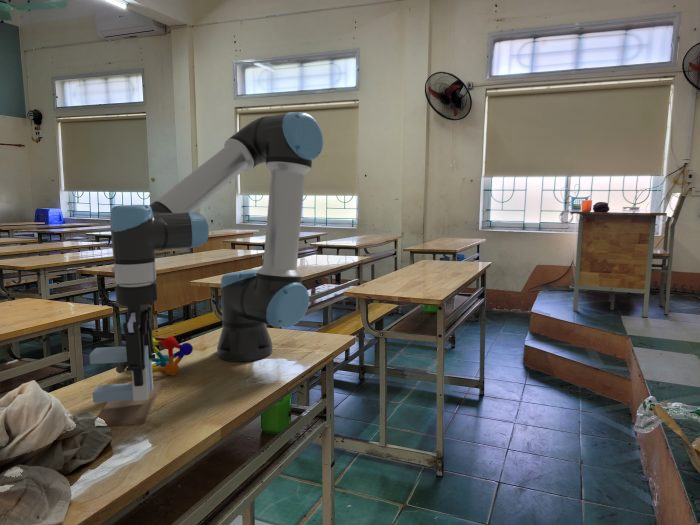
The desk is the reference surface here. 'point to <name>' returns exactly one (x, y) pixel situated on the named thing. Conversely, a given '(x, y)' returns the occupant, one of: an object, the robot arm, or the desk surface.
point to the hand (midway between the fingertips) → (143, 394)
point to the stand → (129, 406)
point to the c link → (115, 390)
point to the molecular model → (167, 361)
